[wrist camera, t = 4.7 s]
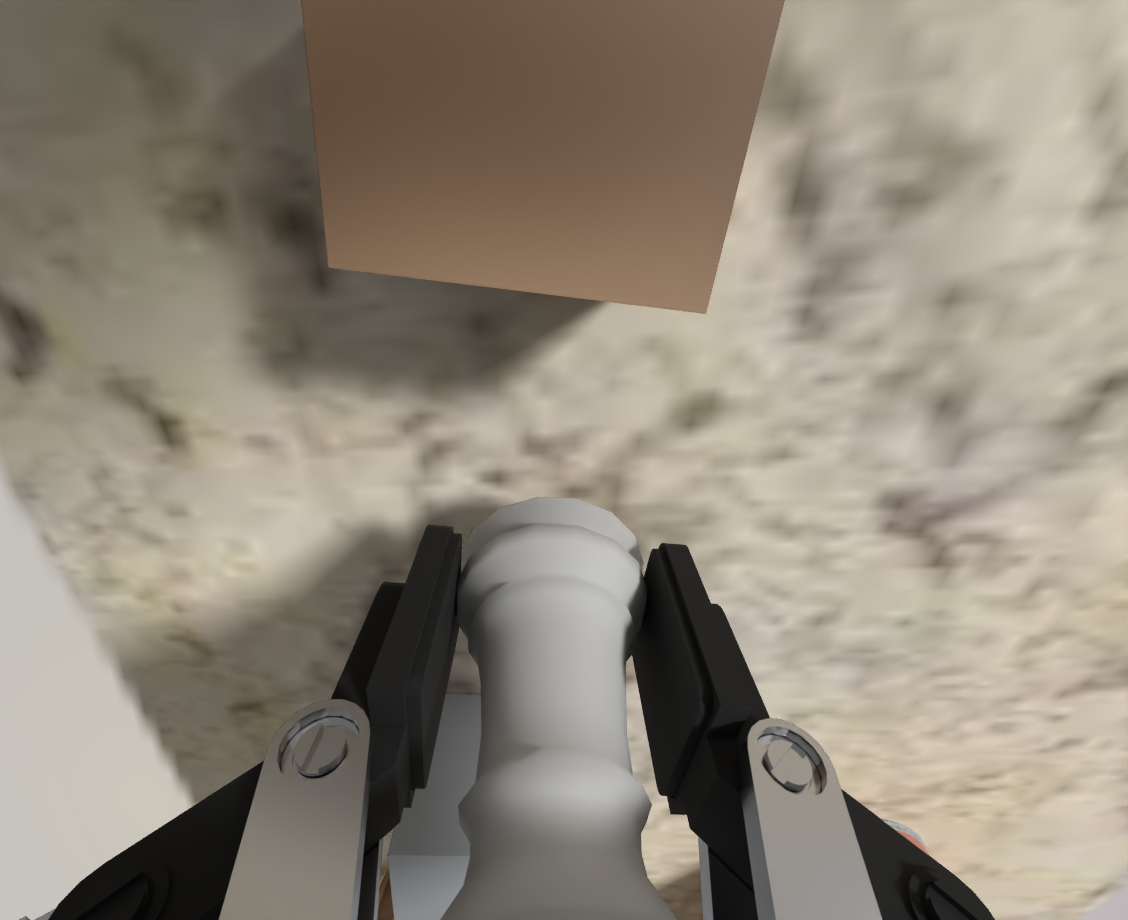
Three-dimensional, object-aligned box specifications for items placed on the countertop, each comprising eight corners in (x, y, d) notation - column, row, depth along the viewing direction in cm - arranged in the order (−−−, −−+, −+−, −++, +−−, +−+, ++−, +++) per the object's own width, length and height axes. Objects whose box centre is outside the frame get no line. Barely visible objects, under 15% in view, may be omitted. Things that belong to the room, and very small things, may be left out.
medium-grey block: (428, 690, 17) (387, 855, 13) (562, 696, 18) (568, 856, 13) (429, 769, 19) (395, 932, 15) (548, 772, 20) (549, 932, 15)
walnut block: (415, -63, 8) (258, -412, 4) (690, -11, 9) (850, -265, 4) (420, 248, 10) (327, 267, 6) (638, 276, 11) (705, 314, 6)
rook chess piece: (448, 607, 12) (318, 1145, 5) (478, 465, 10) (331, 1036, 3) (608, 633, 13) (681, 1139, 6) (666, 506, 11) (884, 1047, 4)
